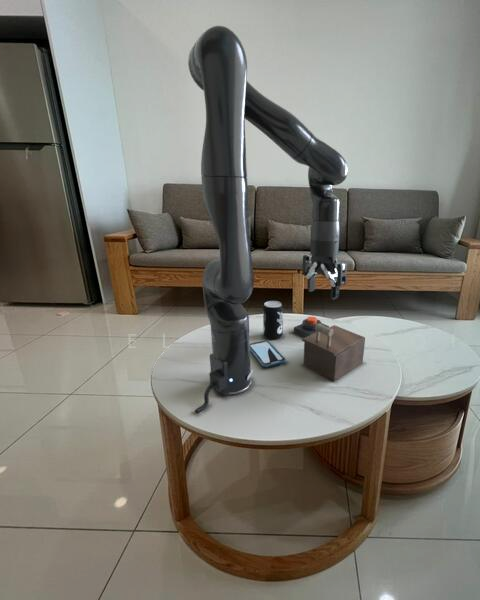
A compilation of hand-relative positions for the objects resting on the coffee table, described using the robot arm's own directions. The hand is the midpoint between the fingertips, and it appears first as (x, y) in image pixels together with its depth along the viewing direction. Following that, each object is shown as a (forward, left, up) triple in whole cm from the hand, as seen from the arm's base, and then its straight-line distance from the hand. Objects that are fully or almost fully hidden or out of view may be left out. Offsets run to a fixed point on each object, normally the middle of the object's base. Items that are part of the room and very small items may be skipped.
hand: (322, 294), depth 91 cm
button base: (+12, +14, -21) cm, 28 cm away
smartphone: (-10, +13, -21) cm, 27 cm away
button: (+12, +14, -17) cm, 25 cm away
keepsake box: (+1, -5, -21) cm, 21 cm away
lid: (0, -5, -13) cm, 14 cm away
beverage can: (0, +21, -21) cm, 30 cm away
